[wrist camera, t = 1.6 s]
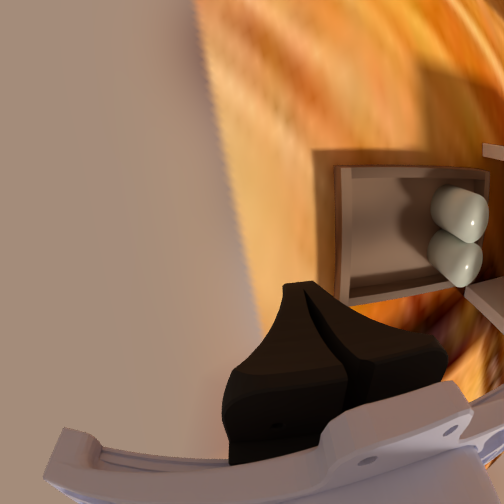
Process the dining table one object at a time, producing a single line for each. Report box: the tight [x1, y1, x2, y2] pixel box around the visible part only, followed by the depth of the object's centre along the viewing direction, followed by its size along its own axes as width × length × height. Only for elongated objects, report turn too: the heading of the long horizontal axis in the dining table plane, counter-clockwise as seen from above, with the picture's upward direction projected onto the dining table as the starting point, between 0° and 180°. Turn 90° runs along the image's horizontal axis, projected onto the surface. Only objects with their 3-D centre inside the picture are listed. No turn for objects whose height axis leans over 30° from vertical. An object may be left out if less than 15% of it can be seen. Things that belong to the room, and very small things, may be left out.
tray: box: [334, 165, 490, 307], centre depth 19 cm, size 10×14×2 cm
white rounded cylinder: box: [427, 229, 483, 287], centre depth 18 cm, size 4×4×4 cm
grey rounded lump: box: [430, 184, 489, 243], centre depth 17 cm, size 4×4×4 cm
